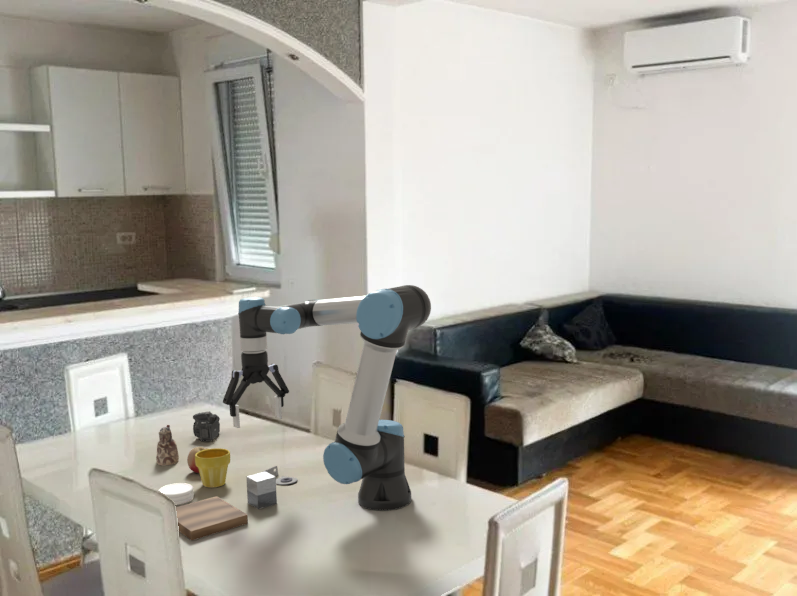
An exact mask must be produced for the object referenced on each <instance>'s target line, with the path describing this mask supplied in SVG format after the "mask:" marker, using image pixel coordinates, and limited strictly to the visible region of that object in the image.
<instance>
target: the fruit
mask: <svg viewBox="0 0 797 596" xmlns="http://www.w3.org/2000/svg"><path fill="white" fill-rule="evenodd" d="M206 449H209V448H208V447H206V448H205V447H204V446H196V447H193V448H191V450H190V451H189V453H188V455H187V461H186V462H187V466H188V467H189V469H190V471H192V472H193V473H196V474H200V473H199V469H198V467H197V466H196V463H195V454H196V453H197V452H199V451H202V450H206Z"/></svg>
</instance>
